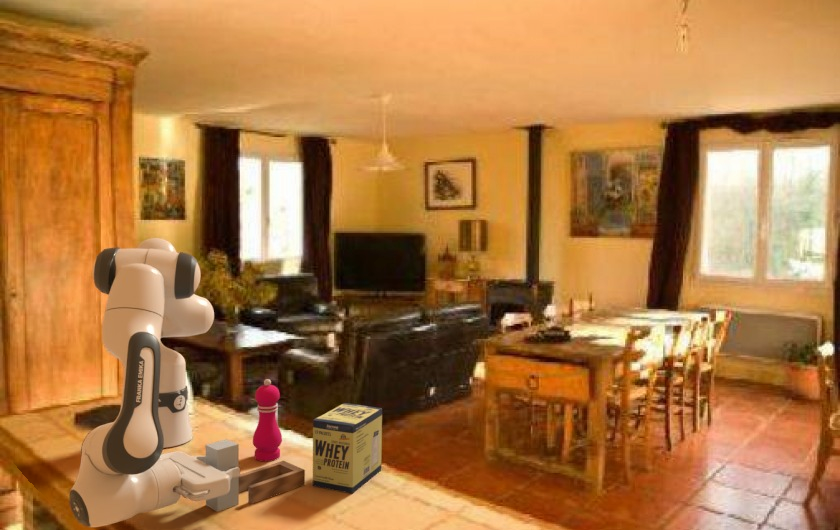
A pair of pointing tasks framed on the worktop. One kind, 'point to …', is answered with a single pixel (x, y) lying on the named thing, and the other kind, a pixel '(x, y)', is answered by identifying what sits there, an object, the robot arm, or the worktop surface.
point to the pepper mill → (267, 423)
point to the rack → (271, 480)
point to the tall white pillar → (221, 459)
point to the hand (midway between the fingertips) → (225, 464)
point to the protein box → (347, 447)
